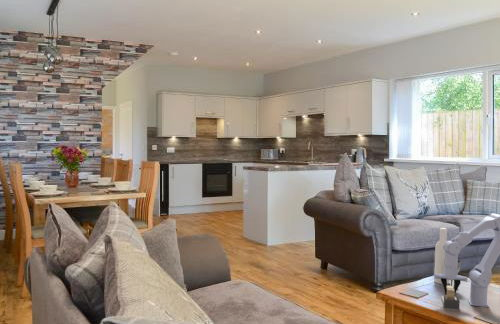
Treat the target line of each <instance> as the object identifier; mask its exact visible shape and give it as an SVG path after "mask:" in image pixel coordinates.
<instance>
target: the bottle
mask: <svg viewBox="0 0 500 324" xmlns="http://www.w3.org/2000/svg"><path fill="white" fill-rule="evenodd" d="M447 238H448V229H447V228H446V227H440V228H439V240H438V241H437V242H436V244H435V247H434V249H435V250H434V270H433V272H434V273H433V275H434V274H444V259H445V251H444V249H443V246H444V244H445V242H447V241H448V240H447ZM446 280H447V279H446ZM433 281H434V283H435V284H439V285H443V284H442V282H441V279H433ZM450 282H451V280H447V285H449V284H450Z"/></svg>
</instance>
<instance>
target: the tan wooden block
mask: <svg viewBox="0 0 500 324" xmlns="http://www.w3.org/2000/svg"><path fill="white" fill-rule="evenodd" d="M453 287H454V285H452V286H451V285H447V295H445V294H444V297H446V299H452V300H455V297H456V295H455V290H454V288H453Z"/></svg>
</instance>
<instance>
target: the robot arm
mask: <svg viewBox="0 0 500 324" xmlns="http://www.w3.org/2000/svg"><path fill="white" fill-rule="evenodd" d="M488 229H491V230H493V232H494V237H493V239H492V241H491V242H490V245H489V247H487V250H486V251H485V253H484V255H483V257H482V259H481V260H480V262H479V263H478V264H476V265H475V266H474V267H473V269H471V270H470V271H469V272H468V276H464V275H463V276H462V275H458V273H457V266H458V260H459V258H458V257H459V254H460V253H461V250H462V249H464V248H465V247H466V246H468V245H469V244H470V243H471V242H473V238H475V237H476V236H478V235H479V234H481V233H483V232H484V231H486V230H488ZM458 233H459V234H458V235H456V236H455V237H452V238H451V239H450V240H447V242H445V244H444V246H443V249H444V251H445V264H444V274H434V273H433V278H434V279H441V282H442V284H441V285H442V286H443V289H444V290H443V291H444V296H445V295H447V286H448V284H447V280H450V281H451V280H453V287H454V290H455V296H456V295H457V291H458V290H457V289H459V287H460V285H461V282H466V283H467V282H468V278H469V280H470V296H469V298H468V299H467V300H468V303H469V305H470V306H476V307H483V308H490V305H489V304H488V291H489V290H488V287H489V286H490V284H491V279H492V276H493V274H492V273H493V272H492V269H493V267H494V265H495V263H496V262H497V260H498V258H499V257H500V214H497V213H495V212H493V213H490V214H489V215H487V216H485V217H484V218H483V219H482V220H480V222H479V223H477V224H476V225H474V226H473V227H471V228H470V230H468V231H460V232H458ZM434 279H433V280H434ZM446 279H447V280H446Z"/></svg>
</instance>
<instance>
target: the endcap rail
mask: <svg viewBox="0 0 500 324" xmlns="http://www.w3.org/2000/svg"><path fill="white" fill-rule="evenodd" d="M441 302H442V306H443V310H447V311H455V312H456V311H457V312H460V298H459V297H456V296H455V300H452V299H446V296H444V295H441Z"/></svg>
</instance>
